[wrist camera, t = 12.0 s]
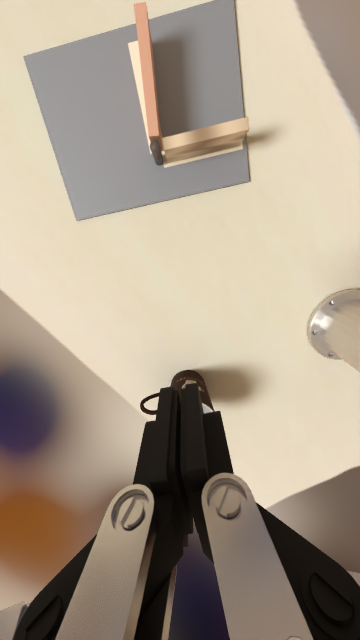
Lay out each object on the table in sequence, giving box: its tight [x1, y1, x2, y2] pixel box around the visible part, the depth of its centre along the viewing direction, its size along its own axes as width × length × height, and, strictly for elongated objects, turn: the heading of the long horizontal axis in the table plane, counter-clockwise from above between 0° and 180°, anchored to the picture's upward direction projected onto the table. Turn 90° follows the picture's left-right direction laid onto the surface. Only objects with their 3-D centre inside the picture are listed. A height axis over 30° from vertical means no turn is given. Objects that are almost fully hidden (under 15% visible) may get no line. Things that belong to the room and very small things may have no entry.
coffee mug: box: [140, 370, 215, 415], centre depth 39 cm, size 12×9×10 cm
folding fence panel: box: [134, 2, 162, 151], centre depth 27 cm, size 11×1×5 cm, turn 5°
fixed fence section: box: [150, 117, 249, 166], centre depth 29 cm, size 12×1×5 cm, turn 101°
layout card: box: [23, 0, 249, 221], centre depth 30 cm, size 26×19×1 cm
